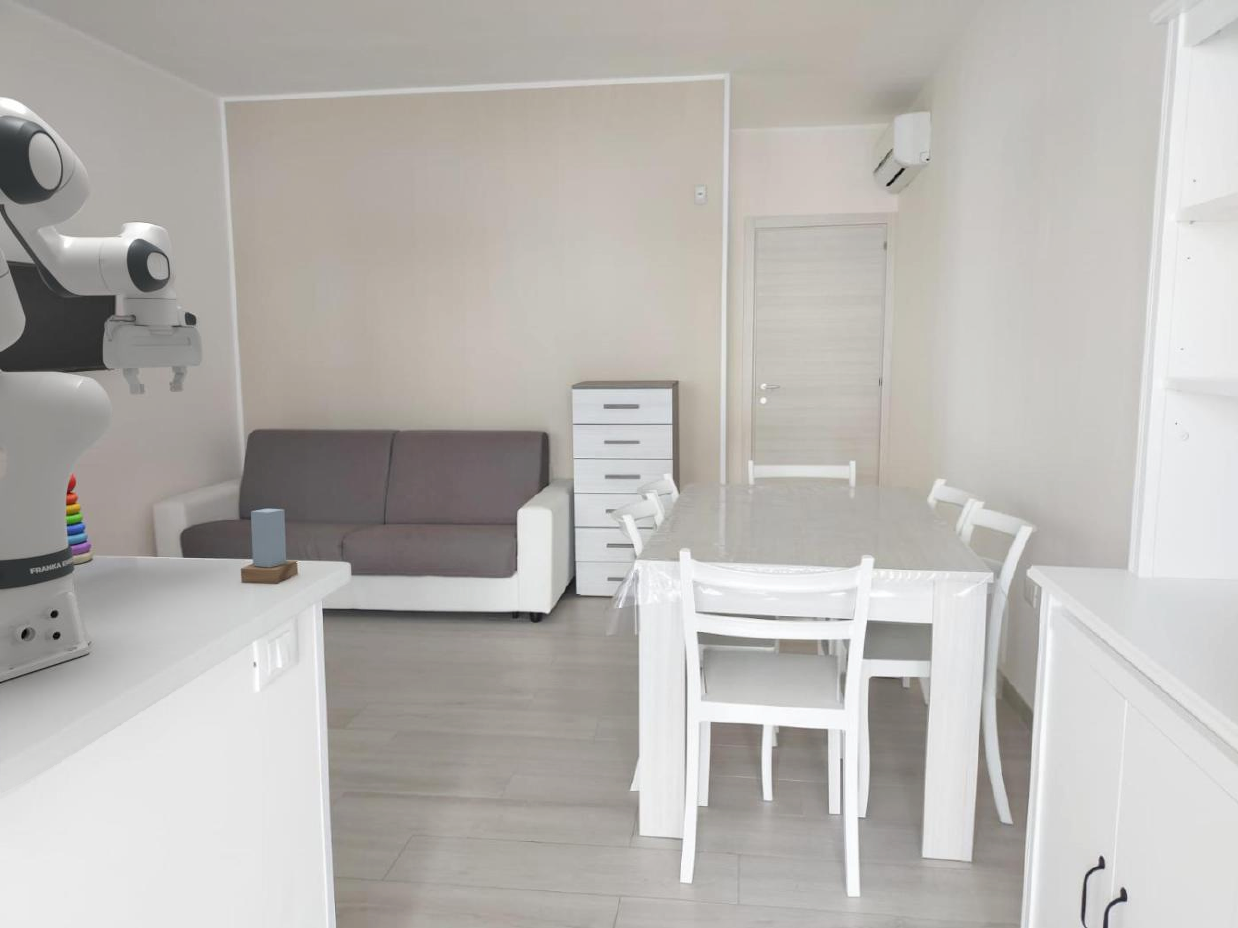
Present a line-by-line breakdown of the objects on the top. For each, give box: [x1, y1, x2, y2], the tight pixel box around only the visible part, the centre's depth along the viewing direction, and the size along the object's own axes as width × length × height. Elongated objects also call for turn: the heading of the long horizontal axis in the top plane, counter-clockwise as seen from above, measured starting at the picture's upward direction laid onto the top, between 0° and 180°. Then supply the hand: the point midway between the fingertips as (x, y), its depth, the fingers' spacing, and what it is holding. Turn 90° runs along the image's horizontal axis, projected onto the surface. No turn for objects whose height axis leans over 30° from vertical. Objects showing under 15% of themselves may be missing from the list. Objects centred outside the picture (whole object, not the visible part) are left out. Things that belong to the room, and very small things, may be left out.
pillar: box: [250, 508, 287, 568], centre depth 162 cm, size 4×4×10 cm
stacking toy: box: [66, 473, 94, 565], centre depth 176 cm, size 8×8×19 cm
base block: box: [240, 559, 299, 585], centre depth 163 cm, size 7×7×3 cm
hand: (157, 393), depth 162 cm, fingers open, 8 cm apart
